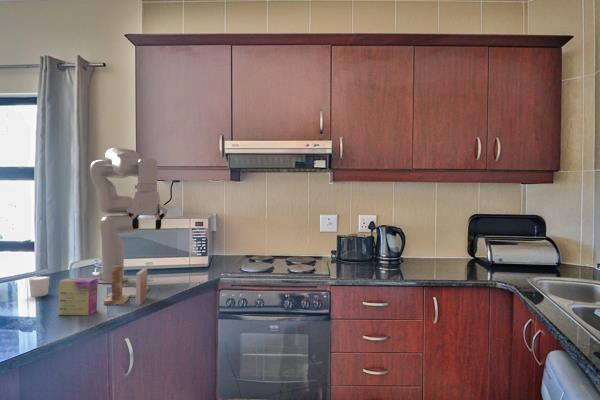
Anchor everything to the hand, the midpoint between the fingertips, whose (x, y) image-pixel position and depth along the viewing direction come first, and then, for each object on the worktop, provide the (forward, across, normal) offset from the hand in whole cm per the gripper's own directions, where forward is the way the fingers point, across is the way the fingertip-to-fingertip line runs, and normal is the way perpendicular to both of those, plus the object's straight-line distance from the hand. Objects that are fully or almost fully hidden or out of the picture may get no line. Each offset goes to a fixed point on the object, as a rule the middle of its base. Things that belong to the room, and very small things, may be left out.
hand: (146, 229), depth 148 cm
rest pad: (+28, -8, +1) cm, 29 cm away
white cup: (+28, -43, -5) cm, 51 cm away
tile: (+28, +2, -9) cm, 29 cm away
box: (+28, -12, -25) cm, 39 cm away
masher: (+28, -6, -11) cm, 30 cm away
